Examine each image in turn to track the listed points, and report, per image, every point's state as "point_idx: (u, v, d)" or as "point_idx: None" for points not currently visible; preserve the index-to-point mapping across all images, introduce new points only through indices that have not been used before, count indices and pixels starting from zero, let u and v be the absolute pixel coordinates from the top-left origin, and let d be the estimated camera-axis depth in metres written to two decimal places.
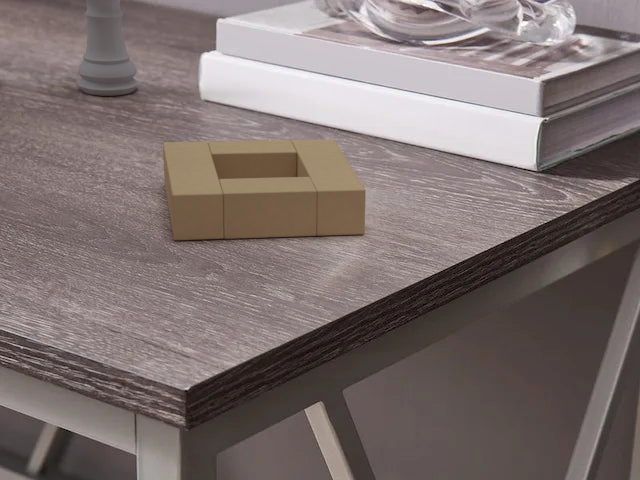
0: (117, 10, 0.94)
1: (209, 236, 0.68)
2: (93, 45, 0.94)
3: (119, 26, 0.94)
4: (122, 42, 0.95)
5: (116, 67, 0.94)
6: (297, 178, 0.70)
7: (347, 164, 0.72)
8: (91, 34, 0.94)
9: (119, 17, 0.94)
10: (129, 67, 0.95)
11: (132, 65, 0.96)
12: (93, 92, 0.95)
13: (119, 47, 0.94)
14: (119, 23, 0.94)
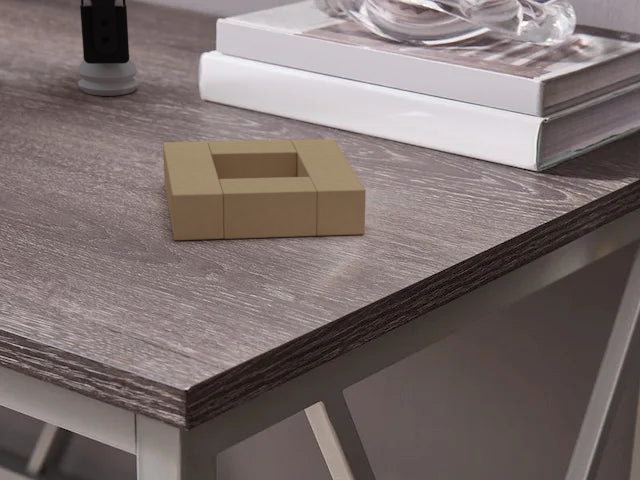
0: None
1: (209, 236, 0.68)
2: None
3: None
4: None
5: (116, 67, 0.94)
6: (297, 178, 0.70)
7: (347, 164, 0.72)
8: None
9: None
10: (129, 67, 0.95)
11: (132, 65, 0.96)
12: (93, 92, 0.95)
13: None
14: None
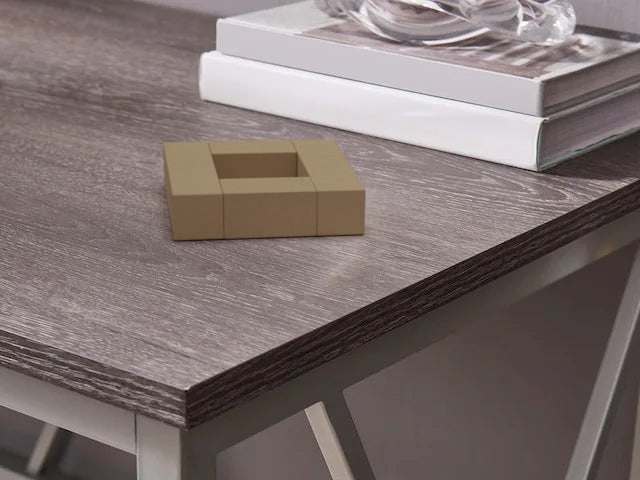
0: None
1: (209, 236, 0.68)
2: None
3: None
4: None
5: None
6: (297, 178, 0.70)
7: (347, 164, 0.72)
8: None
9: None
10: None
11: None
12: None
13: None
14: None
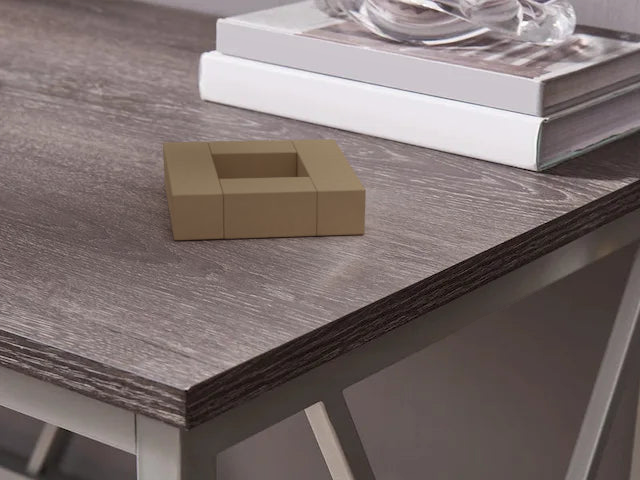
0: None
1: (209, 236, 0.68)
2: None
3: None
4: None
5: None
6: (297, 178, 0.70)
7: (347, 164, 0.72)
8: None
9: None
10: None
11: None
12: None
13: None
14: None
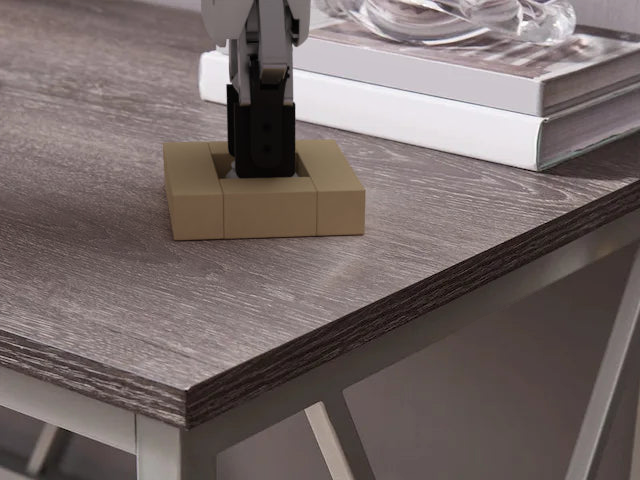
0: None
1: (209, 236, 0.68)
2: None
3: None
4: None
5: None
6: (297, 178, 0.70)
7: (347, 164, 0.72)
8: None
9: None
10: None
11: None
12: None
13: None
14: None
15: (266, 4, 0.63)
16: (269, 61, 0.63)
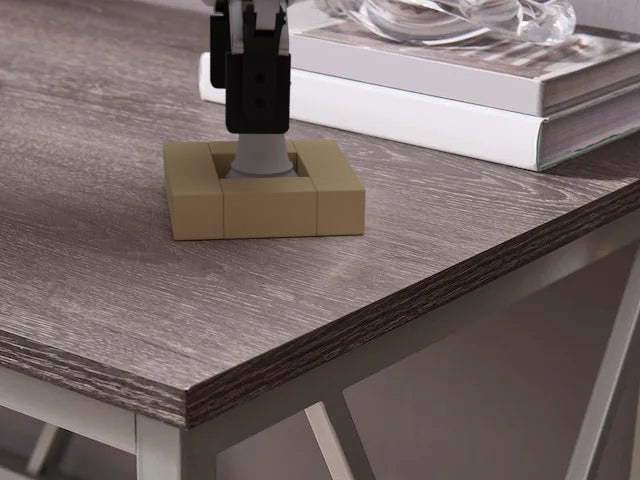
0: None
1: (209, 236, 0.68)
2: (247, 152, 0.70)
3: None
4: (285, 148, 0.71)
5: None
6: (297, 178, 0.70)
7: (347, 164, 0.72)
8: (245, 138, 0.70)
9: None
10: None
11: (296, 176, 0.72)
12: None
13: (281, 154, 0.71)
14: None
15: None
16: None
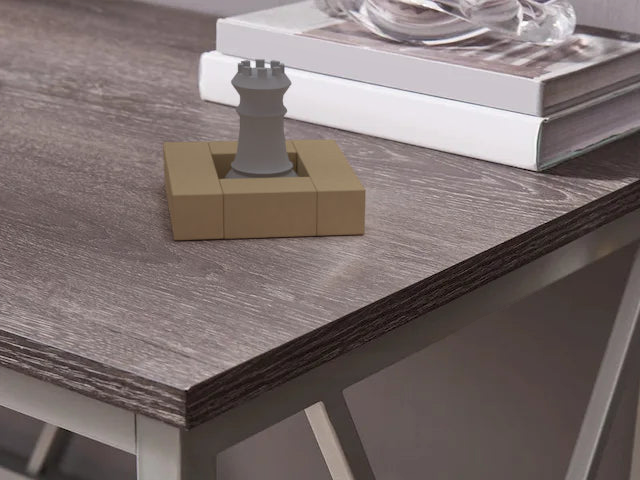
0: (280, 106, 0.70)
1: (209, 236, 0.68)
2: (247, 152, 0.70)
3: (282, 127, 0.70)
4: (285, 148, 0.71)
5: None
6: (297, 178, 0.70)
7: (347, 164, 0.72)
8: (245, 138, 0.70)
9: (283, 115, 0.70)
10: None
11: (296, 176, 0.72)
12: None
13: (281, 154, 0.71)
14: (282, 123, 0.70)
15: None
16: None
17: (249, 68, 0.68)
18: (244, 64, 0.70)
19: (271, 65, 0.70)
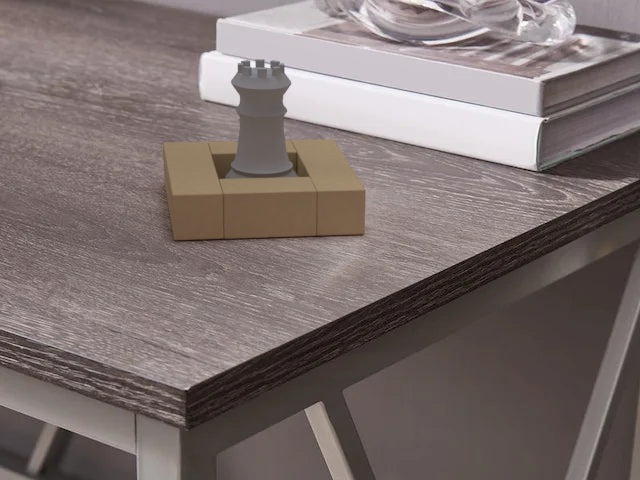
0: (280, 106, 0.70)
1: (209, 236, 0.68)
2: (247, 152, 0.70)
3: (282, 127, 0.70)
4: (285, 148, 0.71)
5: None
6: (297, 178, 0.70)
7: (347, 164, 0.72)
8: (245, 138, 0.70)
9: (283, 115, 0.70)
10: None
11: (296, 176, 0.72)
12: None
13: (281, 154, 0.71)
14: (282, 123, 0.70)
15: None
16: None
17: (249, 68, 0.68)
18: (244, 64, 0.70)
19: (271, 65, 0.70)
